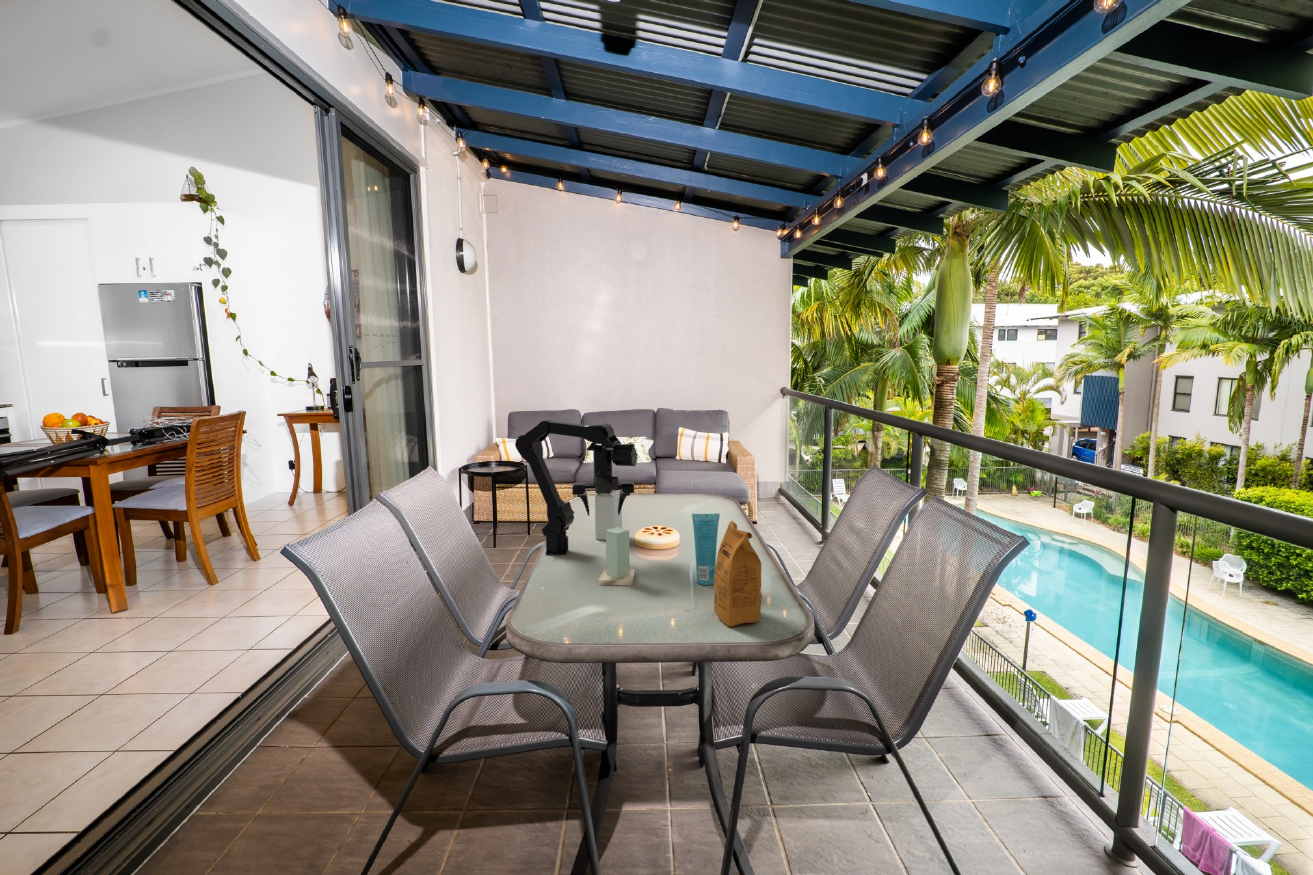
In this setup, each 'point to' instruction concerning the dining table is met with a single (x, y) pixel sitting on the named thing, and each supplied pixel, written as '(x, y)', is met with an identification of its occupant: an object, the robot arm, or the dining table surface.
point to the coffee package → (737, 579)
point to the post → (617, 552)
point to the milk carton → (607, 513)
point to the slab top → (610, 580)
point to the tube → (705, 546)
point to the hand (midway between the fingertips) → (603, 515)
